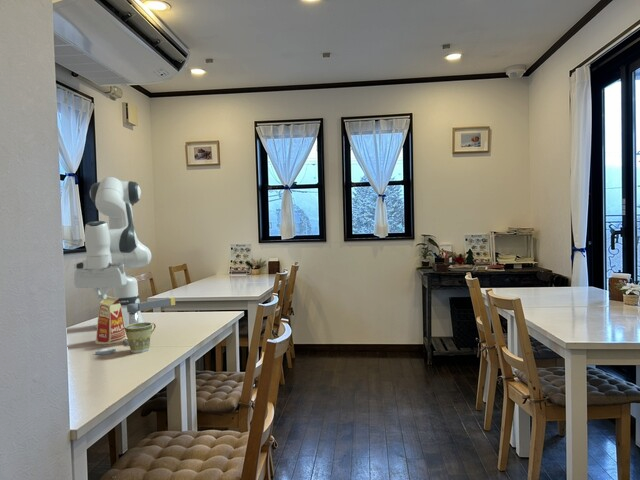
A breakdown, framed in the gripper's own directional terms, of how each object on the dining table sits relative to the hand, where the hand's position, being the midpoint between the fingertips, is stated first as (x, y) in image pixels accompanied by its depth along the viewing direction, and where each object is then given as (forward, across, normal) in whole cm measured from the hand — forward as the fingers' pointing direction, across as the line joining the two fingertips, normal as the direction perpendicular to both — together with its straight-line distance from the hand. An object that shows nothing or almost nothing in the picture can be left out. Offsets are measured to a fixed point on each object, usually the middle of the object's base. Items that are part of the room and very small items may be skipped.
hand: (101, 298), depth 176 cm
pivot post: (+21, -3, -15) cm, 26 cm away
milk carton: (+21, +9, -17) cm, 29 cm away
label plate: (+21, 0, 0) cm, 21 cm away
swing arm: (+8, -7, -22) cm, 24 cm away
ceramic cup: (+21, -13, -4) cm, 25 cm away
